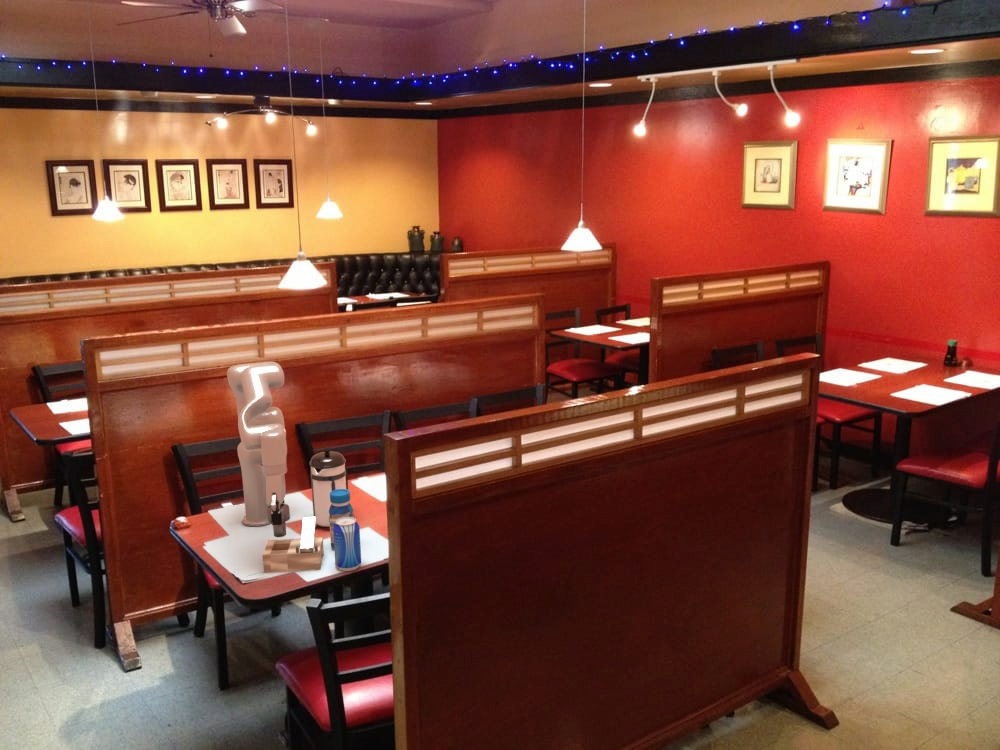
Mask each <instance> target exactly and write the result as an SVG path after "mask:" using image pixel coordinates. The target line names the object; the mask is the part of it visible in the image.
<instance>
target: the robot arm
mask: <svg viewBox="0 0 1000 750" xmlns="http://www.w3.org/2000/svg"><path fill="white" fill-rule="evenodd" d="M226 377H227V382H228V385H229V387H230V389H231V391H232V393H233V395H234V397H235V400H236V408H237V409H236V411H237V412H236V413H237V418H238V419H237V426H238V427H237V428H238V433H239V437H240V442H239V444H238V445H237V449H236V451H237V457H238V459H239V464H240V469H241V478H242V490H243V501H244V512H245V515H244V516H242V517H241V523H242V524H243V525H245V526H246V527H262V526H267V525H270V524H271V525H272V526H273V525H281V524H282V513H281V512H280V505H281V504H285V501H286V500H285V498H286V493H287V492H286V479H285V478H286V477H285V474H287V472H288V467H287V466H288V463H287V455H288V445H287V431H286V426H285V419H284V414H283V411H282V409H281V408H279V407H277V406H272V405H273V396H272V393H271V390H270V389H275V388H281V387H282V386H283V385H284V384H285V372H284V370H283V368H282V366H281V365H280V364H279V363H278V362H275V361H263V362H253V363H252V362H251V363H241V364H235V365H232V366H231V367H229V368H228V369H227V371H226ZM269 506H271V519H272V523H270V522H268V516H267V507H269ZM276 506H278V508H277V507H276Z"/></svg>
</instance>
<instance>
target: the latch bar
mask: <svg viewBox="0 0 1000 750" xmlns="http://www.w3.org/2000/svg"><path fill="white" fill-rule="evenodd" d="M315 526H316V518H315V517H314V516H308V517H307V516H306V517H303V518H302V526H301V537H300V538H301V547H300V553H304V552H313V547H314V538H315V532H316V528H315Z"/></svg>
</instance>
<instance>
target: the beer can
mask: <svg viewBox="0 0 1000 750" xmlns="http://www.w3.org/2000/svg"><path fill="white" fill-rule="evenodd" d="M360 530H361V529H360V524H359V523H358V522H357V518H355V517H354V518H352V517H343V518H339V519H337V520H336V524H335V525H334V527H333V536H334V549H333V550H334V564H335V567H337V570H339V571H341V572H351V571H355V570H357V569H358V568H359V567H360V565H361V564H362V551H361V549H362V548H361V532H360Z"/></svg>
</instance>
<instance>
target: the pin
mask: <svg viewBox="0 0 1000 750" xmlns="http://www.w3.org/2000/svg"><path fill="white" fill-rule="evenodd" d="M276 507H277V508H278V506H276ZM280 512H281V513H282V524H281V525H272V528H273V529H272V531H273V537H275V538H284V537H286V536H287V525H286V524H287V523H286V522H287V521H290V519H291V514H290V505H288V504H287V503H283V504H281V505H280ZM267 516H268V522H270V524H272V519H271V506H269V507H267Z"/></svg>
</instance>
